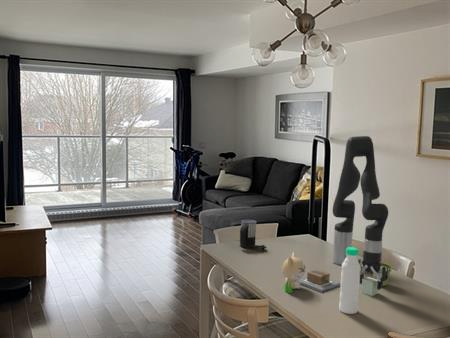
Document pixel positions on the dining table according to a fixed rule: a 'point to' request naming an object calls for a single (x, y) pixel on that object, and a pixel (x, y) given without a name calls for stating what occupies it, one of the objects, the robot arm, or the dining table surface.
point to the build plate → (316, 287)
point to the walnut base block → (318, 277)
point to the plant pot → (381, 272)
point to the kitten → (293, 272)
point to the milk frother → (248, 234)
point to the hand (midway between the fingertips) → (370, 286)
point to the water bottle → (350, 282)
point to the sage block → (369, 286)
